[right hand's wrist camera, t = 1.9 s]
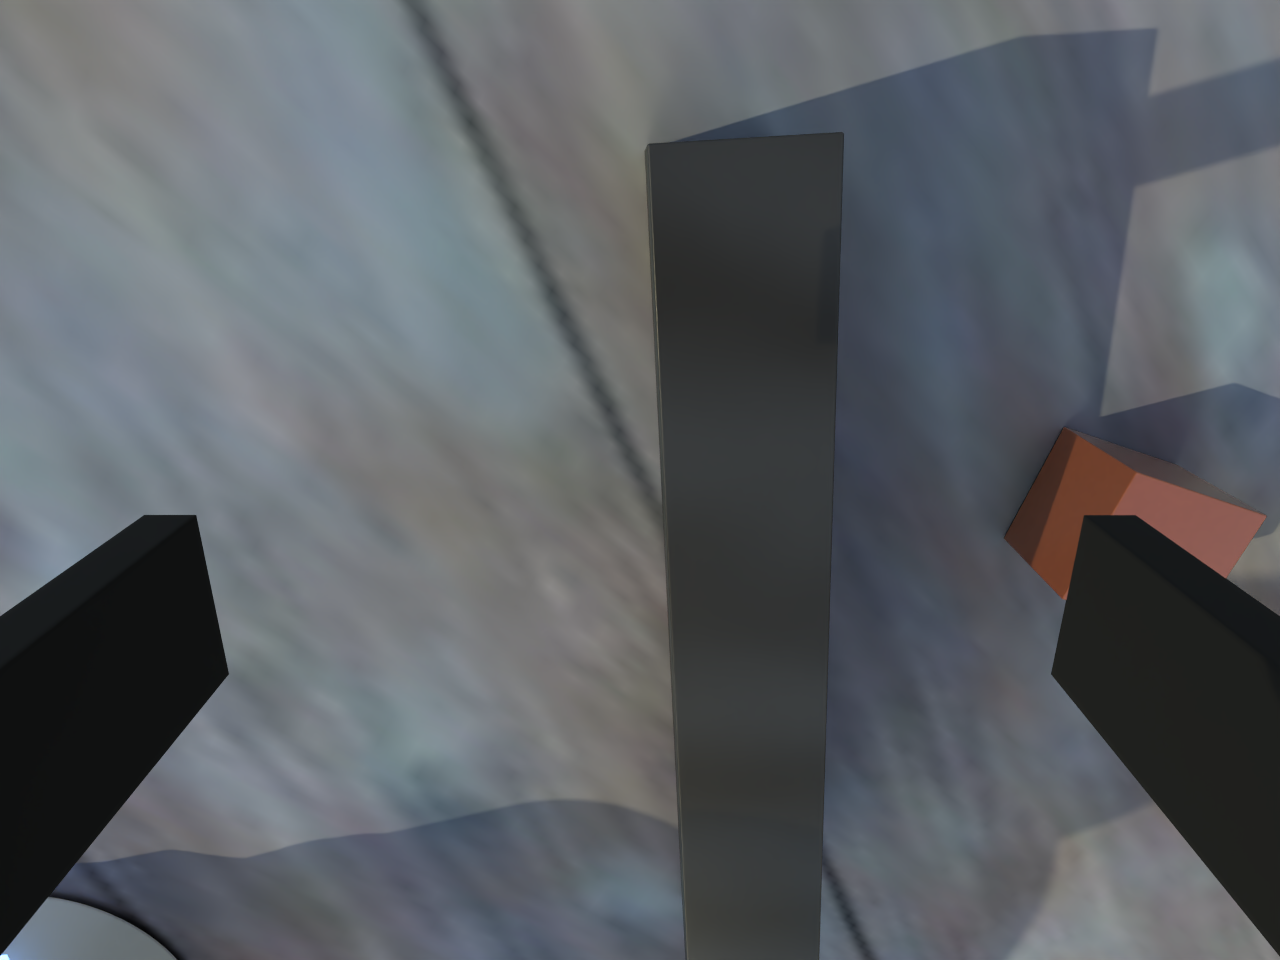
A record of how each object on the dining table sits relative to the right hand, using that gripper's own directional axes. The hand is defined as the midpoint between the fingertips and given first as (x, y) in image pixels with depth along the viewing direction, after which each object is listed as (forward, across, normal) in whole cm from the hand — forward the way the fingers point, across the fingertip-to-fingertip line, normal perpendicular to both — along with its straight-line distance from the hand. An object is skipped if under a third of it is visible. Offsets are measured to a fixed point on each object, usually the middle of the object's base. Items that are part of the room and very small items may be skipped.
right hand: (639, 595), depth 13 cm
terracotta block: (+19, +18, -6) cm, 27 cm away
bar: (+19, +3, -10) cm, 22 cm away
